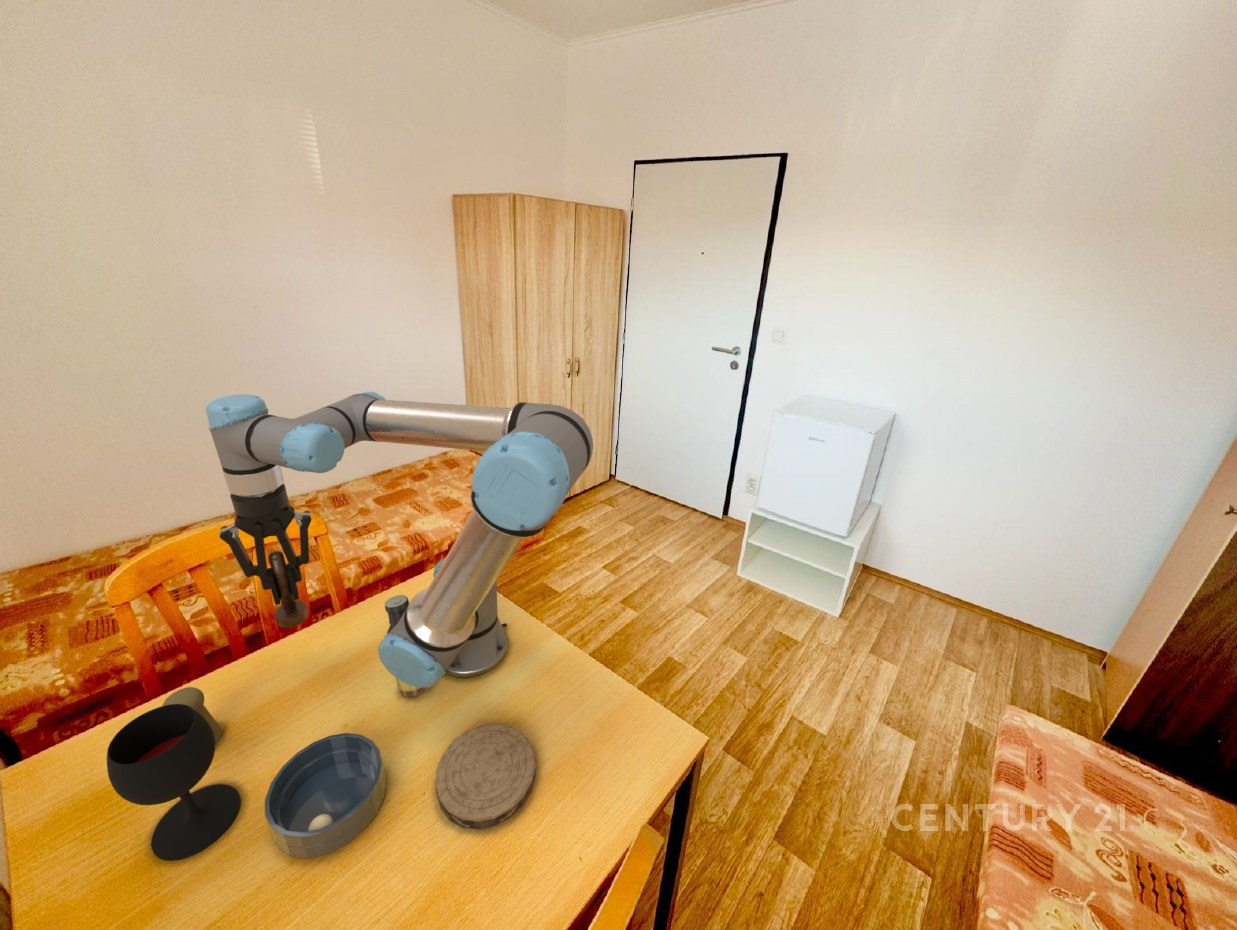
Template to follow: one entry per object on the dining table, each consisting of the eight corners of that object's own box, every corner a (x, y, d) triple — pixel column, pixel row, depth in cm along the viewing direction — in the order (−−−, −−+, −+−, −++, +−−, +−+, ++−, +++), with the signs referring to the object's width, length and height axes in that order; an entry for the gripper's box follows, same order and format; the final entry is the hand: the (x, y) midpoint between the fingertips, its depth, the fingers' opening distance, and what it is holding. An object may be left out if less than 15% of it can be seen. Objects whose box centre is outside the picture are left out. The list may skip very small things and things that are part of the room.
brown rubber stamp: (312, 607, 97) (296, 542, 89) (302, 627, 92) (285, 561, 85) (283, 608, 96) (264, 543, 88) (271, 628, 91) (251, 561, 84)
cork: (197, 762, 80) (176, 717, 75) (167, 753, 81) (144, 708, 76) (231, 729, 85) (213, 685, 81) (202, 721, 86) (183, 677, 82)
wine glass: (228, 771, 79) (191, 685, 70) (251, 818, 73) (214, 730, 65) (143, 823, 72) (90, 734, 63) (161, 880, 66) (105, 790, 57)
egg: (332, 812, 74) (332, 837, 72) (307, 820, 72) (307, 846, 70) (334, 809, 72) (334, 835, 70) (308, 817, 70) (307, 844, 68)
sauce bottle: (424, 700, 93) (402, 613, 86) (393, 699, 93) (368, 613, 86) (439, 674, 99) (419, 591, 92) (410, 673, 99) (388, 591, 93)
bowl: (377, 741, 86) (373, 718, 83) (394, 823, 74) (389, 799, 72) (273, 785, 78) (265, 761, 75) (274, 884, 66) (264, 860, 64)
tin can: (487, 854, 72) (486, 842, 70) (415, 791, 79) (413, 779, 77) (554, 765, 84) (554, 754, 83) (487, 718, 91) (486, 707, 90)
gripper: (309, 470, 88) (331, 574, 98) (201, 486, 80) (237, 598, 90) (312, 488, 82) (335, 597, 92) (196, 508, 74) (235, 624, 84)
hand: (286, 597), depth 91 cm, fingers closed on brown rubber stamp, 2 cm apart
